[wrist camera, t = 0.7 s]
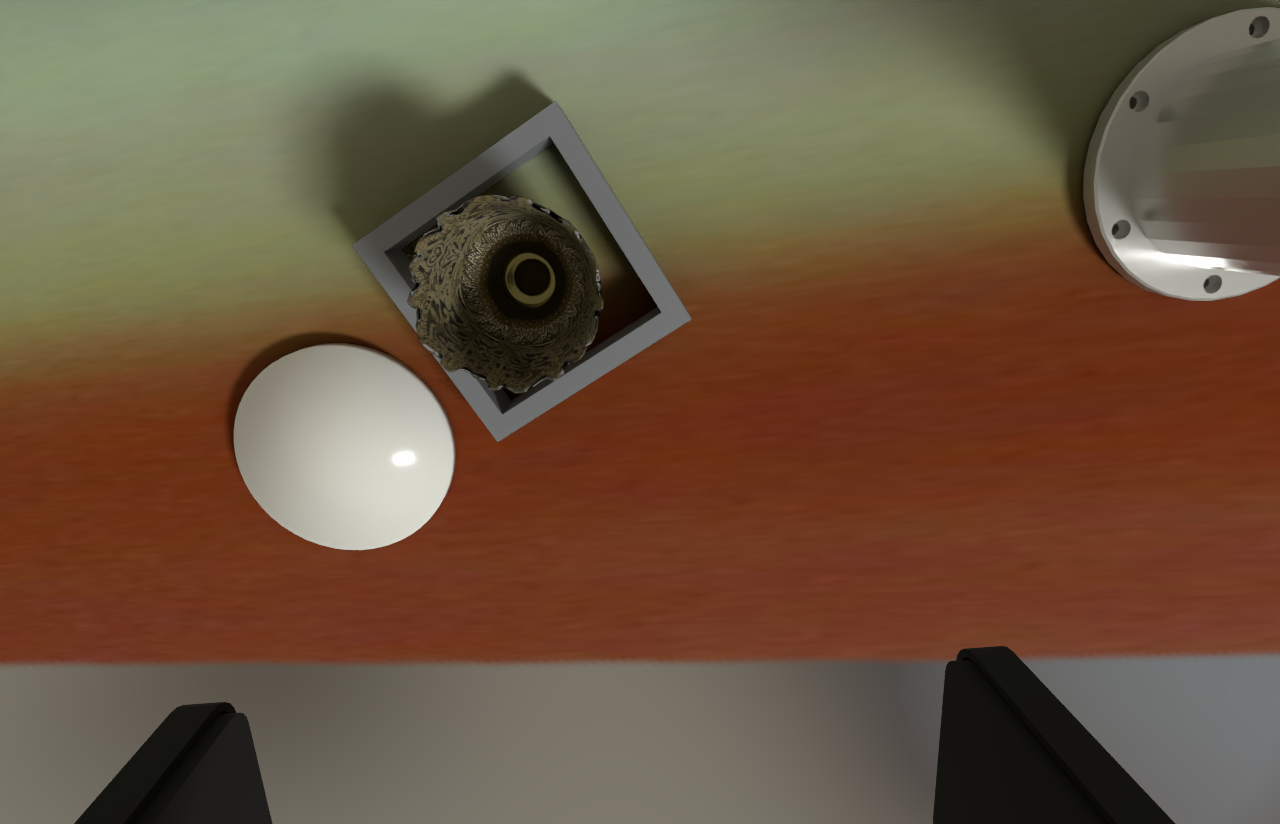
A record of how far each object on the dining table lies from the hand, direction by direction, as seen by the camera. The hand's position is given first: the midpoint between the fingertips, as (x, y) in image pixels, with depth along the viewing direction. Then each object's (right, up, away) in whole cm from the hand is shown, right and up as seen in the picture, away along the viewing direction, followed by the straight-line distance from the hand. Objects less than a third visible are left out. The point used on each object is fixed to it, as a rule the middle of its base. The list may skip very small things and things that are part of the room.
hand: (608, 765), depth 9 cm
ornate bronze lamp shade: (-5, +11, +25) cm, 28 cm away
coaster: (-15, +3, +27) cm, 31 cm away
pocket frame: (-5, +11, +25) cm, 28 cm away
